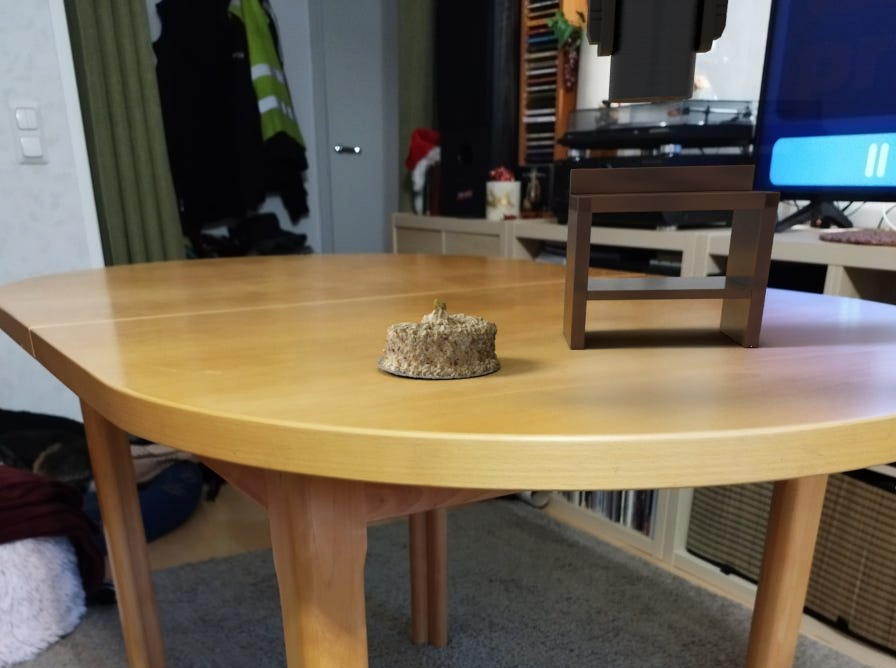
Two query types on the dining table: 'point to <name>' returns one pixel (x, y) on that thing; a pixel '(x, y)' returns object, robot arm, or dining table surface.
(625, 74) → the spice tin
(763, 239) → the spice rack
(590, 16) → the robot arm
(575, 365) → the dining table surface
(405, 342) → the cake
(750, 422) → the dining table surface
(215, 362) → the dining table surface
